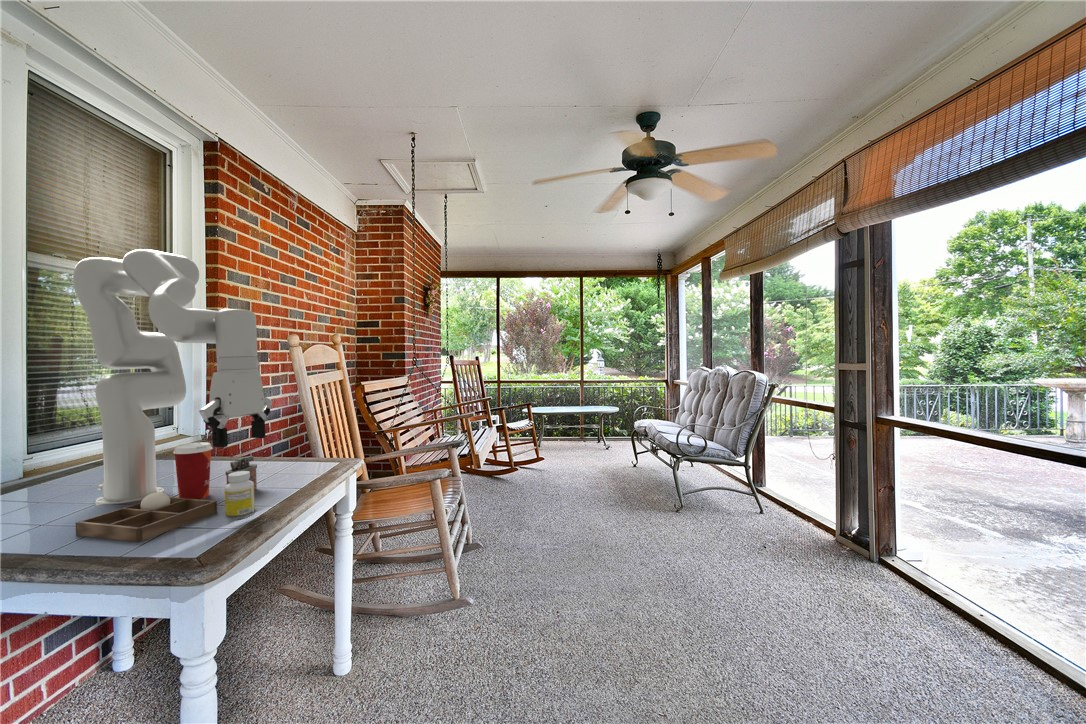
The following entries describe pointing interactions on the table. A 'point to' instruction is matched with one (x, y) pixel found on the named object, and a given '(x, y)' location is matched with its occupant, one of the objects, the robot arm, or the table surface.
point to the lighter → (244, 468)
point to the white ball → (155, 501)
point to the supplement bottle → (239, 495)
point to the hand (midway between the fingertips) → (240, 442)
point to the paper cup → (193, 469)
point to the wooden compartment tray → (145, 520)
